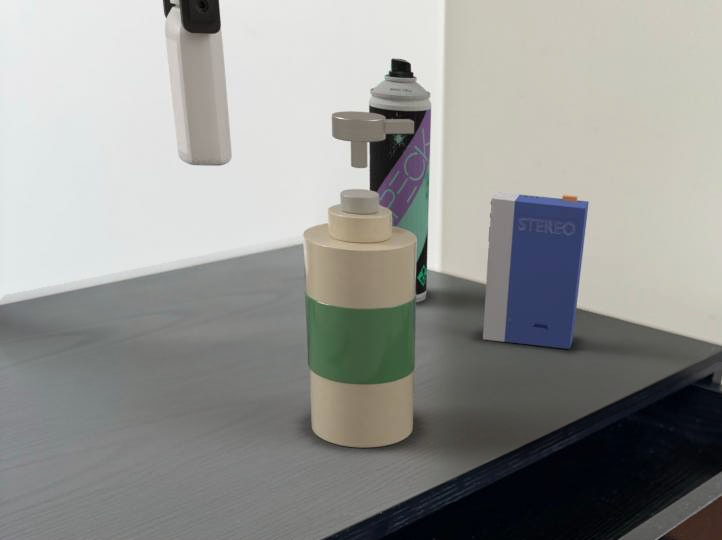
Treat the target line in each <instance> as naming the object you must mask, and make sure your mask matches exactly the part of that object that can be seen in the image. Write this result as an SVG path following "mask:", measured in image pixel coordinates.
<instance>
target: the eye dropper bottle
mask: <svg viewBox="0 0 722 540" xmlns="http://www.w3.org/2000/svg"><path fill="white" fill-rule="evenodd" d="M170 3H173V4H176V6H175V7H172V9H171V10H170V12H169V14H168V16H167V19H166V18H165V23H164V34H165V42H166V43H165V45H166V53H167V54H166V55H167V63H168V72H169V81H170V90H171V99H172V100H171V101H172V108H173V119H174V126H175V135H176V144H177V145H176V146H177V153H178V157H179V159H180V160H181V161H182V162H184V163H186V164H188V165H191V166H208V167H211V166H214V167H215V166H216V167H218V166H224V165H226V164H228V163H230V161H231V160H232V155H233V154H232V142H231V141H232V140H231V130H230V119H229V118H230V115H229V105H228V92H227V91H228V90H227V80H226V79H227V77H226V69H225V56H224V43H223V34H222V33H223V32H222V28H220V30H219V32H217V33H215V34H205V33H190V32H188V31H186V30H185V29H184V28H183V26H182V23H181V15H180V5H179V0H170Z"/></svg>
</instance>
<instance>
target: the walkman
mask: <svg viewBox="0 0 722 540" xmlns="http://www.w3.org/2000/svg"><path fill="white" fill-rule="evenodd" d="M589 204H590V203H589V201H587V200H578V195H573V194H572V195H571V194H562V197H561V198H557V197H549V196H538V195H529V194H517V193H510V192H498V193H497V195H495V194H494V195H493V196H492V197H491V200H490V213H489V218H490V221H489V228H488V250H487V262H486V263H487V265H486V279H485V281H486V282H485V298H484V300H485V301H484V315H483V331H482V340H487V341H495V342H502V343H503V342H504V343H513V344H521V345H530V346H539V347H549V348H557V349H564V350H570V349H571V346H572V342H573V340H574V331H575V324H576V315H577V305H578V298H579V290H580V289H579V288H580V280H581V271H582V264H583V256H584V245H585V236H586V227H587V220H588V211H589Z"/></svg>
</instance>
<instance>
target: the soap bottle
mask: <svg viewBox="0 0 722 540" xmlns="http://www.w3.org/2000/svg"><path fill="white" fill-rule="evenodd" d="M339 196H340V197H339V198H340V200H339V202H340V203H339V204H335V205H332V206H329V207H328V209H327V223H322V224H321V223H320V224H317V225H313V226H310V227H309V228H308V227H307V229H305V230H304V231H303V233H302V245H303V266H304V268H303V269H304V306H305V307H304V308H305V326H306V328H305V329H306V351H307V367H308V376H309V379H308V380H309V398H310V421H311V422H310V423H311V430H312V431H313V433H314V435H316V436H317V437H318V438H319V439H322V440H323V441H326V442H328V443H332V444H334V445H337V446H342V447H349V448H362V449H363V448H364V449H365V448H380V447H385V446H390V445H394V444H397V443H399V442H403V440H405V439H407V438H408V437H409V436H410V435H411V434H412V432H413V431H414V398H415V397H414V394H415V368H416V332H417V330H416V329H417V327H416V326H417V302H416V248H417V238H416V236H415V235H414V234H413V233H412V232H410V231H408V230H405V229H403V228H399V227H396V226H392V212H391V210H390V209H388V208H386V207H383V206H379V194H378V193H377V192H375V191H371V190H370V189H363V188H350V189H344V190H342V191H340V193H339Z"/></svg>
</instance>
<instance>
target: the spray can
mask: <svg viewBox="0 0 722 540" xmlns="http://www.w3.org/2000/svg"><path fill="white" fill-rule="evenodd" d="M390 59H391V60H390V70H388V74H384V75H383V76H384V77H383V79H384V80H382V81H381V82H379V83H377V85H376V86H375V87H372V88H370V89H369V91H370V93H369V94H370V97H369V99H368V110H369V111H368V112H369V113H376V114H380V115H383V116H385V118H386V119H410V120H412V121H414V134H386V138H385V140H383V141H379V142H368V143H369V145H368V147H369V152H368V153H369V190H371V191H375V192H377V193H378V194H379V206H383V207H386V208H388V209H390V210H391V212H392V226H396V227H399V228H403V229H405V230H408V231H410V232H412V233H413V234H414V235H415V236H416V238H417V248H416V303H420V302H422V301H424V300H426V298H427V285H428V283H427V282H428V277H427V276H428V249H429V248H428V247H429V246H428V243H429V242H428V241H429V237H428V236H429V207H430V206H429V204H430V173H431V171H430V170H431V168H430V167H431V135H432V134H431V131H432V130H431V127H432V102H431V100H430V98H431V92H430V91H427V90H426V89H425V88H424V87H423V86H422V85H421V84H420V83H419V82H417V81H418V79H417V76H415V75H414V71H412V64H411V62H409V61H408V60H406V59H402V58H390Z"/></svg>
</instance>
